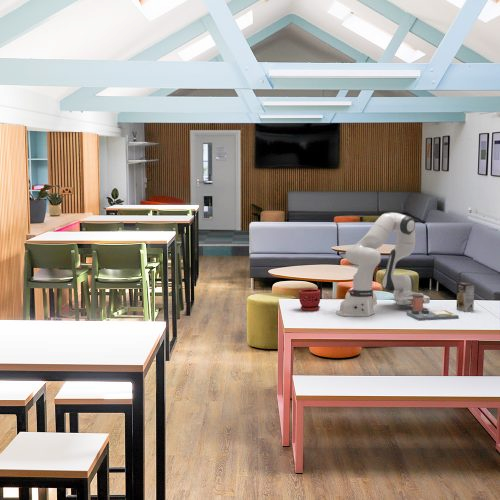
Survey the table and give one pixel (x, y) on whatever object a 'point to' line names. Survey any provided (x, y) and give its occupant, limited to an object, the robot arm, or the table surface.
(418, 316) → the switch board
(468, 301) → the coffee box
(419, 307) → the block
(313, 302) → the plant pot
